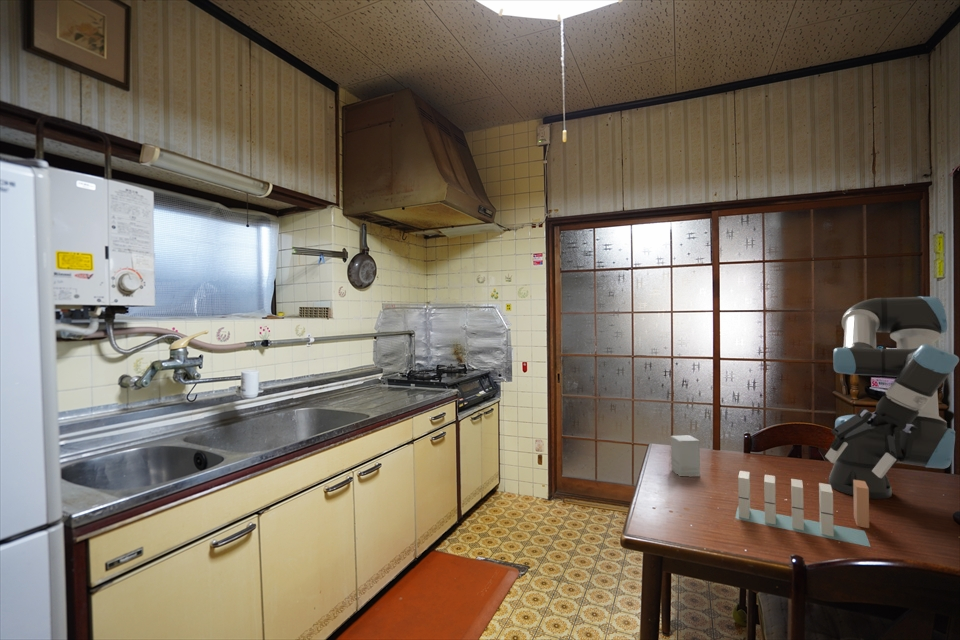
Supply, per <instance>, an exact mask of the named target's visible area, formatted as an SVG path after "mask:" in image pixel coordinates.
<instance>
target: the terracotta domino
mask: <svg viewBox="0 0 960 640" xmlns="http://www.w3.org/2000/svg"><path fill="white" fill-rule="evenodd" d="M852 496H853V518H854V522H855V524H856V526H857V527H861V528H865V529H866V528H867V529H870V500H869V499H870V498H869V488H868V486H867V484H866V482H865V481H860V480H853V495H852Z"/></svg>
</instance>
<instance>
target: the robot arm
mask: <svg viewBox="0 0 960 640" xmlns="http://www.w3.org/2000/svg"><path fill="white" fill-rule="evenodd" d="M947 321H948V320H947V314H946V310H945V306H944V304H943V302H942V301H941V299H940V298H938V297H935V296H921V295H919V296H909V297H908V296H904V297H903V296H902V297H875V298H870V299H866V300H865V299H864V300H862V301H860V302H858V303H855V304H854V305H852V306H851V307H849V309H847V310H846V311H845V312H844V313H843V315H842V318H841V328H842V329H843V330H844V337H843V346H842V347H835V348H834V349H833V353H832V354H833V358H832V359H833V361H832V363H833V365H832V366H833V370H834V372H836V374H837V373H838V374H843V375H850V376H851V375H854V376H855V375H857V376H858V375H860V376H876V377H877V376H878V377H880V376H881V377H882V376H883V377H894V380H893V382H892V383H891V385H890V386H889V387H888V388H887V390H886V391H885V395H882V397H881V398H880V399H879V401H878V402H877V403H876V405H875V407H876V409H875V411H873V412H871V411H869V410H867V409H866V408H864V407H863V408H861V409H860V410H859V411H858V412H857V413H856V414H847V415H841V416H839V417H837V418H836V419H835V422H834V428H833V429H831V431H830V432H831V433H832V434H833V435H834V440H833V441H832V443H831V444H830V445H829V447H830V448H829V450H828V451H827V452H826V454H825V456H824V457H825V459H827V460H828V461H829V462H830V463H831V464H833V466H832V469H831V471H830V473H829V476H828V484H829V485H831V488H832V489H833V490H836V491H838V492H841V493H843V494H847V495H850V496H854V495H853V480H860V481H865V482H866V484H867V486H868V488H869V499H875V500H877V499H878V500H881V499H882V500H884V499H889V498H891V497H892V496H893V495H892V490H893V489H892V486H891V483H890V481H889V478H888V476H887V473H888V471H889V470H890V469H892V468H894V466H895V464H896V463H898V464H899V463H900V464H904V465H905V464H906V465H912V466H920V467H925V468H927V469H928V468H933V469H943V470H944V469H947V468H949V467H950V465H951V463H952V460H953V455H954V451H955V442H956V431H955V430H954V429H953V428H949V427H948V424H947V423H948V422H947V421H946V420H945V419H944V418H942V417H941V416H940V414H939V412H940V411H939V398H938V397H939V396H938V389H939V388H940V387H941V386H942V384H943V383H944V381H946V379H947V378H949V377H948V376H949V375H951V374H952V373H953V372H954V370H955V367H956V366H957V365H958V363H959V362H960V358H959V356H957V355H956V354H954V353H952V352H949V351H947V350H945V349H942V348H940V347H937V346H935V343H936V342H937V341H938V340H940V339H941V337H942V336H941V335H942V334H943V333H946V332H947V330H948V322H947ZM877 333H889V337H890V339H891V340H893V341H894V342H896V348H878V347H877ZM895 377H896V378H895Z"/></svg>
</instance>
